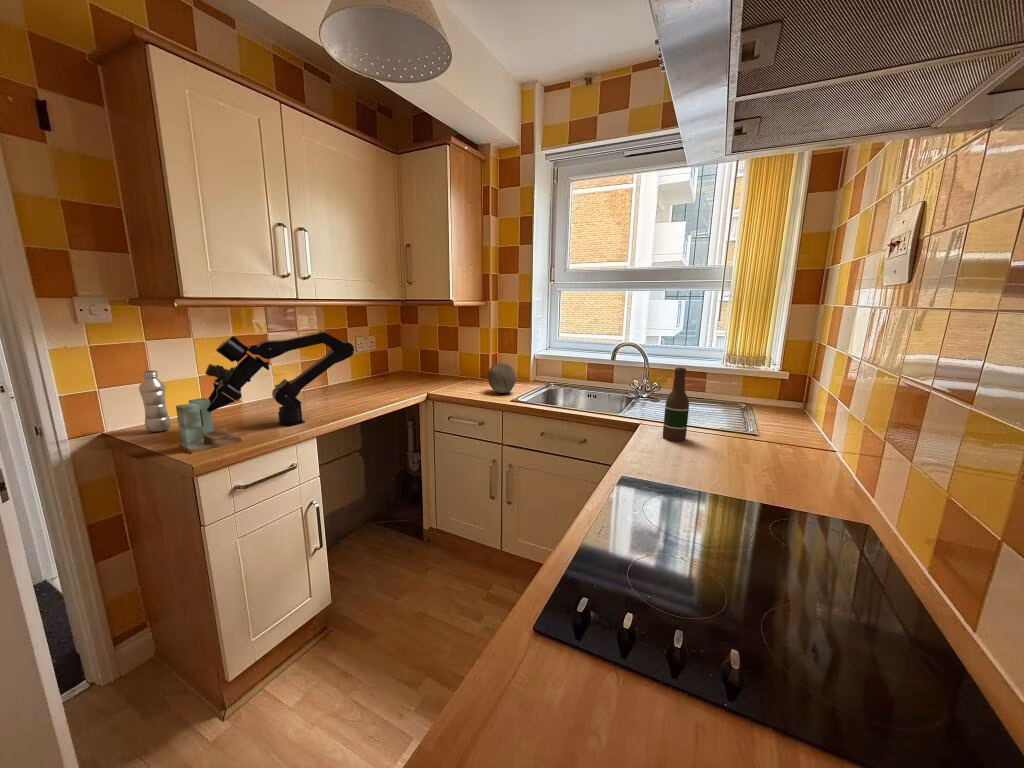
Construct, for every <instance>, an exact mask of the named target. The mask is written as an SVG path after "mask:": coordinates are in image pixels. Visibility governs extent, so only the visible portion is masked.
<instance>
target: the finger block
mask: <svg viewBox="0 0 1024 768" xmlns="http://www.w3.org/2000/svg"><path fill="white" fill-rule="evenodd" d="M190 403H193V404H196V405H199V409H201V411H202V418H203V426H202V432H203V433H205V432H210V431H214V423H213V414H212V411H211V412H208V411H207V408H208V407H209V406H210V400H209V399H208V398H205V397H200V398H195V399H194V398H193V399H188V404H190Z"/></svg>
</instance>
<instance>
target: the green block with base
mask: <svg viewBox="0 0 1024 768" xmlns="http://www.w3.org/2000/svg"><path fill="white" fill-rule="evenodd" d="M175 410H176V416H177V423H178V431H179V437H180V443H178V445H177V446H178V448H179V449H182V450H184V449H185V450H184V451H186V450H187V451H186V452H188V451H189V452H188V453H190V452H191V453H190V454H195V453H194V452H196V453H198V452H199V451H200V452H204V451H207V450H208V451H209V450H212V449H215V448H220V447H223V446H224V447H225V446H227V445H232V444H236V443H239V442H242V437H240V436H239V432H238V431H237V432H232V433H230V432H228V428H226V427H224V428H219V429H215V430H214V431H210V432H205V433H203V432H202V426H203V418H202V411H201V409H199V405H196V404H193V403H190V404H189V403H185V404H184V403H183V404H179V405H176V406H175ZM200 452H199V453H200Z"/></svg>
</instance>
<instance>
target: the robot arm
mask: <svg viewBox="0 0 1024 768" xmlns="http://www.w3.org/2000/svg"><path fill="white" fill-rule="evenodd" d="M320 344H324V345H325V346H327V347H329V348H330V349H329V350H328V352H327V353H326V355H324V356H323V357H322V358H320V359H319V360H317V361H316V362H315V363H314V364H312V365H311V366H309V367H308V368H307V369H305V370H304V371H302V373H300V374H298V376H296V377H295V378H293V379H290V380H287V379H286V378H284V379H283V380H282V381H280V382H279V383H278V384H275V385H274V387H275V388H274V389H273V390H272V391H271V392H272V395H271V396H272V398H273V400H275V402H276V403H278V404H279V405H280V406H279V407H278V409H279V411H277V412H278V413H277V414H278V422H277V423H278V424H279V425H282V426H284V427H285V426H286V427H292V426H295V424H296V425H299V423H300V424H304V423H306V421H305V420H303V416H302V415H303V413H302V401H301V400H299V399H298V398H297V397H298V395H299V394H300V393H301V391H302V389H304V388H305V387H306V386H307V385H309V384H310V383H311V382H313V381H314V380H315V379H317V378H318V377H319V376H320V375H322V374H324V372H326V371H327V370H329V369H330V368H331V367H332V366H334V365H335V364H337V363H340V362H344V361H345V360H347V359H348V358H351V357H352V356H353V355H354V354H355V346H354V345H353V344H352V343H351V342H348V341H343V340H340V339H338V338H336V337H335V336H332V335H330V333H328V332H327V331H318V332H316V333H315V332H314V333H311V334H306V335H302V336H296V337H292V338H288V339H275V340H273V339H271V340H269V339H268V340H262V341H261V340H260V341H259V342H258V343H257V344H253V345H245V344H243V343H242V341H240V340H239V339H238V338H237V337H235V335H232V336H230V337H228V339H226V340H225V341H223V342H222V343H221V344H219V346H218V347H217V348H216V349H215V351H216V352H217V353H219V355H222V356H223V357H224V358H226V359H227V360H228V361H230V362H231V363H233V362H237V363H238V362H239V363H238V364H236V366H233V367H230V369H228V368H224V366H223V365H219V364H216V365H215V364H211V363H209V364H208V366H207V368H206V370H205V372H204V374H205V375H206V376H209V377H215V378H214V380H213V381H214V382H212V383H213V384H212V385H213V390H212V392H211V393H210V395H209V396H208V398H207V399H209V400H210V406H209V407H208V408H207V411H208V412H211V413H212V412H214V411H215V410H218V409H220V408H222V407H224V406H227V405H230V404H233V403H236V402H238V401H239V400H240V399H241V398H242V392H241V391H242V388H243V387H244V386H245V385H246V384H247V383H250V382H251V381H252V378H253V377H254V376H255V375H257V373H258V372H259V371H260V370H261V369H262V368H264V369H265V370H267V371H269V370H270V361H268V360H272V359H275V358H277V357H280V356H282V355H283V354H285V353H288V352H290V351H294V350H299V349H302V348H307V347H312V346H316V345H320ZM248 352H249V353H250V354H249V353H248ZM251 354H252V355H256V356H255V357H253V356H252V355H251ZM260 357H261V358H263V359H261V358H260ZM264 359H265V361H264ZM266 360H267V361H266ZM303 422H304V423H303Z"/></svg>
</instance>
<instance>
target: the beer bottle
mask: <svg viewBox="0 0 1024 768" xmlns="http://www.w3.org/2000/svg"><path fill="white" fill-rule="evenodd" d="M674 372H675V373H674V380H673V386H672V390H671V392H670V393H669V394H668V395H667V398H666V401H665V405H664V417H663V428H662V438H663V439H665V440H666V441H669V442H677V443H682V442H685V441H686V437H687V431H688V430H687V429H688V421H689V420H688V418H689V412H690V411H689V410H690V409H689V408H690V401H689V397H688V395H687V393H686V373H687V368H685V367H675V369H674Z"/></svg>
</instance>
